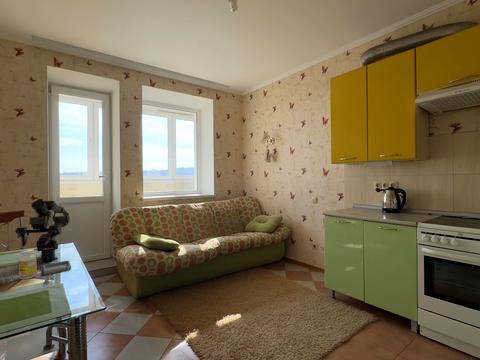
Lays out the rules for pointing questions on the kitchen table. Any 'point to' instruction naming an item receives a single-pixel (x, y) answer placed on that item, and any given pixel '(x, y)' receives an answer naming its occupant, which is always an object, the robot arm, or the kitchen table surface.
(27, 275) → the supplement bottle
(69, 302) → the kitchen table surface
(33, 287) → the kitchen table surface
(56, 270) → the tray
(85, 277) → the kitchen table surface
